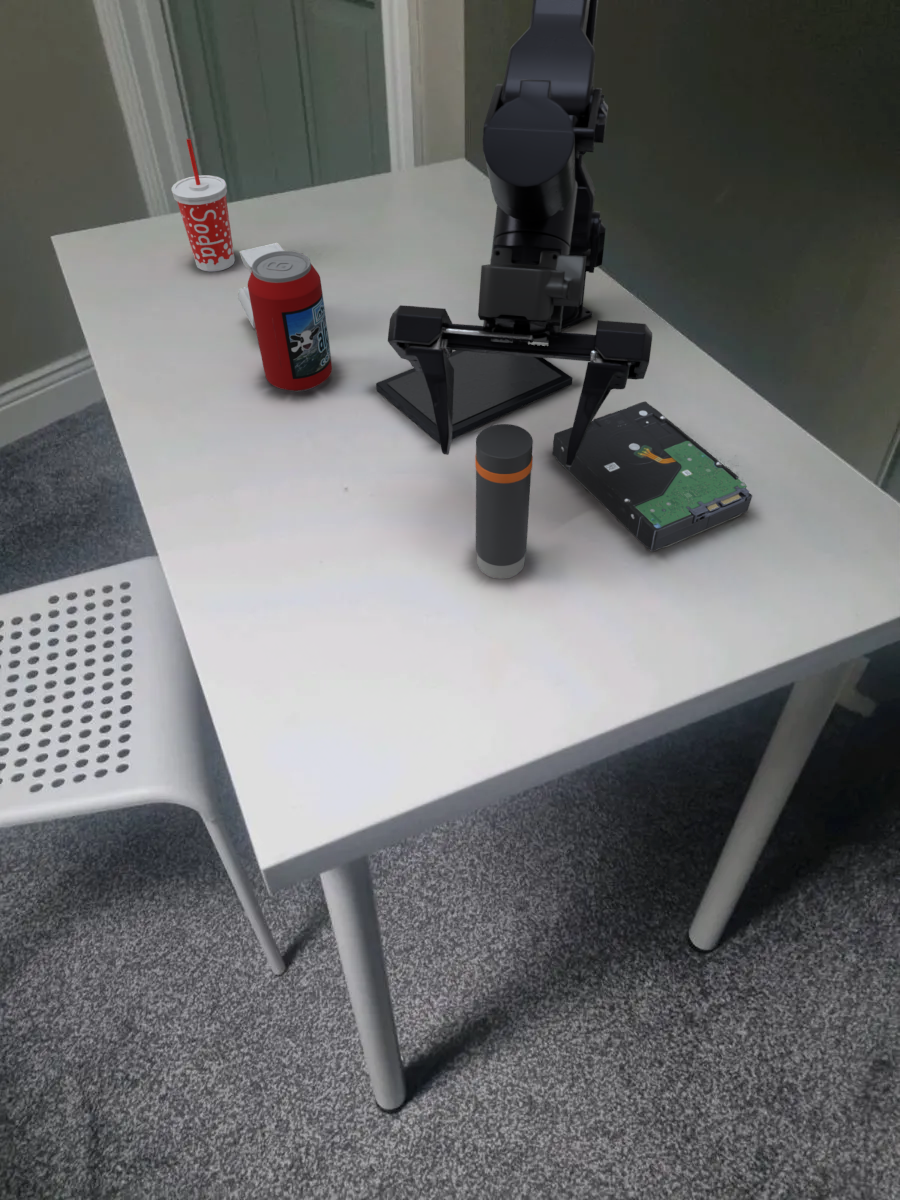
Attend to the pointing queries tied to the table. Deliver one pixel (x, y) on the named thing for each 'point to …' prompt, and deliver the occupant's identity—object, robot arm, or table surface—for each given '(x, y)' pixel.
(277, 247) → the stamp
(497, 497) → the flashlight
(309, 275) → the beverage can
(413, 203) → the table surface
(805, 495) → the table surface
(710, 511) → the disk drive
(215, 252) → the beverage cup
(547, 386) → the tablet
